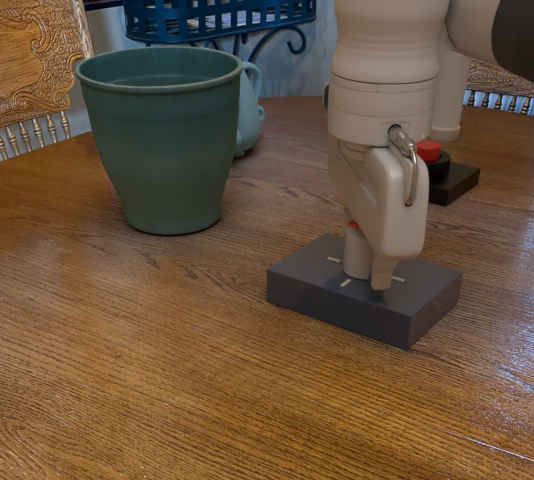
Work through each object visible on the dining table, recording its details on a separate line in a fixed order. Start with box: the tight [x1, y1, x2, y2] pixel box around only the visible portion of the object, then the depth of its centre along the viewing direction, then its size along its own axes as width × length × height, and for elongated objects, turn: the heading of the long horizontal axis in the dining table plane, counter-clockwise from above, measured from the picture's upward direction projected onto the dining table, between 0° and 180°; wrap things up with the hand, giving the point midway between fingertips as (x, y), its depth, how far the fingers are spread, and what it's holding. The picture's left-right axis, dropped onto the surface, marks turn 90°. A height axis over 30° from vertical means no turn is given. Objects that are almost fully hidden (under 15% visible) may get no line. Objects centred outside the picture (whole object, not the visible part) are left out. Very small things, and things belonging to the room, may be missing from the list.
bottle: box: [426, 50, 472, 143], centre depth 103 cm, size 5×5×25 cm
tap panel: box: [266, 231, 464, 351], centre depth 70 cm, size 16×11×4 cm
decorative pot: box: [205, 47, 266, 158], centre depth 102 cm, size 16×16×14 cm
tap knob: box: [343, 221, 375, 280], centre depth 67 cm, size 4×4×4 cm
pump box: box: [424, 149, 481, 208], centre depth 94 cm, size 12×10×4 cm
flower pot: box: [75, 45, 243, 236], centre depth 82 cm, size 18×18×17 cm
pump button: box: [416, 139, 442, 161], centre depth 92 cm, size 4×4×2 cm
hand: (365, 264), depth 68 cm, fingers open, 8 cm apart
